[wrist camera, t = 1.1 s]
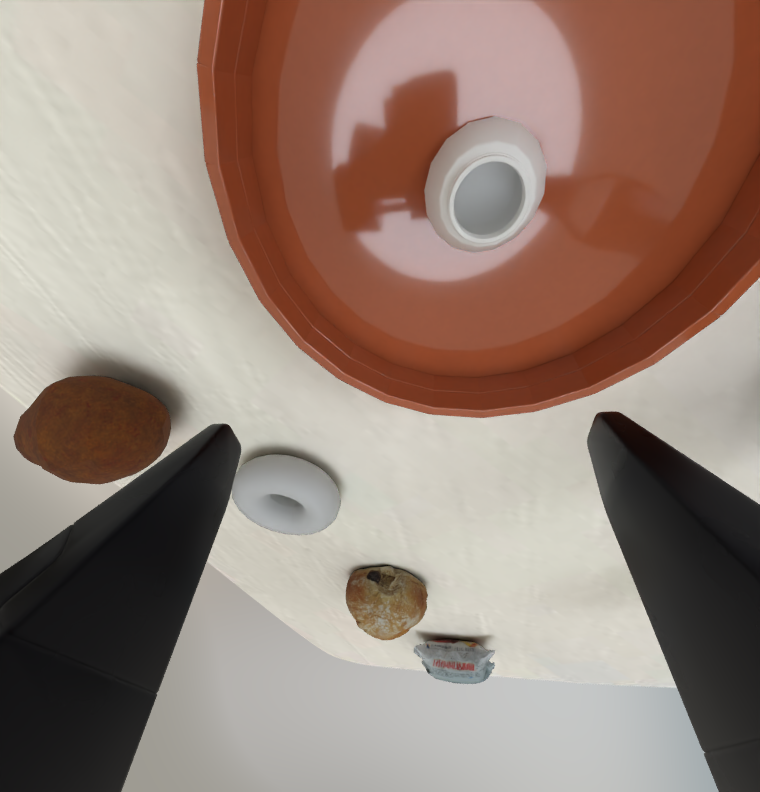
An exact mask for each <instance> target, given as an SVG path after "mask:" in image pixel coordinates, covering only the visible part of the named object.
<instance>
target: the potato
mask: <svg viewBox="0 0 760 792" xmlns="http://www.w3.org/2000/svg"><path fill="white" fill-rule="evenodd" d="M170 430H171V422H170V415H169V412H168V410H167V408H166V407H165V405H164V404H162V403H161V402H160V401H159V400H158V399H157V398H156V397H154V396H153V395H151V394H149V393H148V392H146V391H144V390H141V389H139V388H136V387H134V386H132V385H129V384H126V383H123V382H121V381H118V380H115V379H112V378H110V377H102V376H76V377H68V378H65V379H63V380H60V381H57V382H55V383H53V384H51V385H50V386H48V387H46V388H45V389H44V390H43V391H42V393H41V394H40V395H39V396H38V397H37V399H36V400H35V401H34V402H33V404H32V405H31V406H30V407H29V408H28V409H27V410H26V411H25V412H24V414H23V415H21V417H20V419H19V422H18V425H17V428H16V431H15V434H14V441H15V445H16V448H17V450H18V451H19V452H20V453H21V454H22V455H23V457H24V458H26V459H27V460H29V461H30V462H32V463H34V464H37V465H39V466H41V467H42V468H43V469H44V470H46V471H48V472H50V473H52V474H54V475H55V476H57V477H59V478H61V479H63V480H67V481H70V482H76V483H90V484H104V483H108V482H112V481H115V480H118V479H121V478H124V477H127V476H130V475H133V474H135V473H137V472H139V471H141V470H143V469H145V468H146V467H148V466H149V465H150V464H151V463H153V462H154V461H155V460H156V459H157V458H158V457H159V456H160V455H161V454H162V452H163V450H164V449H165V447H166V445H167V442H168V439H169V436H170Z"/></svg>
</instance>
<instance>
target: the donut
mask: <svg viewBox="0 0 760 792" xmlns="http://www.w3.org/2000/svg"><path fill="white" fill-rule="evenodd" d="M285 496H286V497H285ZM232 498H233V500H234V502H235V504H236V505H237V507H238V509H239V510H240V511H241V512H242V513H243V514H244V515H245V516H246V517H247V518H248V519H250V520H251V521H253V522H255V523H256V524H258V525H260V526H262V527H264V528H266V529H269V530H271V531H275V532H279V533H283V534H291V535H308V534H313V533H316V532H319V531H321V530H324V529H325V528H327V527H328V526H329V525H330V524H331V523H332V522H333V521H334V520H335V519H336V517H337V514H338V511H339V508H340V504H341V500H340V496H339V491H338V488H337V486H336V484H335V483H334V482H333V480H332V479H331V478H330V476H329V475H328V474H327V473H325V472H324V471H323V470H322V469H320V468H319V467H318V466H316V465H314V464H312V463H310V462H308V461H306V460H304V459H301V458H297V457H293V456H289V455H277V454H271V455H265V456H260V457H256V458H254V459H252V460H250V461H249V462H247V463H245V464H244V465H242V466H241V467H240V468H239V470H238V471H237V473H236V475H235V478H234V482H233V486H232Z"/></svg>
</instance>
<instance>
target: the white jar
mask: <svg viewBox="0 0 760 792" xmlns="http://www.w3.org/2000/svg"><path fill="white" fill-rule="evenodd" d="M546 168H547V166H546V163H545V160H544V156H543V153H542V150H541V147H540V144H539V141H538V140H537V139H536V138H535V137H534V136H533V135H532V134H531V133H530V132H529V131H528V130H527V129H526V128H525V127H524V126H523V125H522V124H521V123H518V122H515V121H511V120H507V119H503V118H500V117H496V116H494V117H490V118H486V119H481V120H477V121H473V122H469V123H467V124H466V125H465V126H463V127H462V128H461V129H459V130H458V131H457V132H455V133H454V134H453V135H451V136H450V137H449V138H447V139H446V141H445V142H444V144H443V145H442V147H441V148H440V150H439V151H438V153H437V154H436V156H435V158H434V159H433V161H432V162H431V165H430V169H429V173H428V177H427V181H426V185H425V189H424V193H425V203H426V213H427V216H428V218H429V220H430V222H431V224H432V226H433V228H434V230H435V232H436V234H437V235H438V236H439V237H441V238H442V239H443V240H444V241H446V242H447V243H448V244H449V245H451V246H452V247H453V248H457V249H461V250H465V251H469V252H480V251H487V250H493V249H496V248H498V247H500V246H501V245H503V244H505V243H507V242H509V241H510V240H512V239H514V238H516V237H517V235H518V234H519V233H520V232H521V231H522V230H523V229H524V228H525V227H526V226H527V225H528V223H529V222H530V221H531V220H532V219H533V217H534V215H535V213H536V211H537V209H538V206H539V204H540V202H541V200H542V198H543V195H544V191H545V179H546Z"/></svg>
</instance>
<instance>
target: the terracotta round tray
mask: <svg viewBox="0 0 760 792" xmlns="http://www.w3.org/2000/svg"><path fill="white" fill-rule="evenodd" d="M197 62H198V63H197V73H198V85H199V97H200V109H201V121H202V133H203V145H204V157H205V162H206V167H207V171H208V174H209V177H210V181H211V184H212V188H213V191H214V195H215V198H216V201H217V205H218V208H219V212H220V215H221V219H222V222H223V225H224V229H225V232H226V236H227V239H228V241H229V244H230V246H231V248H232V250H233V251H234V253H235V255H236V257H237V259H238V261H239V263H240V265H241V267H242V268H243V270H244V272H245V274H246V276H247V278H248V280H249V282H250V284H251V285H252V287H253V289H254V291H255V293H256V295H257V297H258V299H259V300H260V301H261V303H262V304H263V306H264V307H265V308H266V309H267V310H268V312H269V313H270V314H271V315H272V316H273V318H274V319H275V320H276V321H277V322H278V324H279V325H280V326H281V327H282V328H283V330H284V331H285V332H286V333H287V335H288V336H289V337H290V338H291V339H292V341H293V342H294V343H295V344H296V345H297V346H298V347H299V348H300V349H301V350H302V351H304V352H305V353H306V354H307V355H309V356H310V357H311V358H312V359H314V360H315V361H316V362H317V363H319V364H320V365H321V366H323V367H324V368H325V369H326V370H328V371H329V372H330V373H331V374H333V375H334V376H335V377H336V378H338V379H340V380H341V381H343V382H345V383H347V384H349V385H351V386H353V387H355V388H357V389H359V390H361V391H363V392H365V393H367V394H369V395H371V396H373V397H375V398H377V399H379V400H381V401H384V402H386V403H390V404H393V405H397V406H401V407H405V408H408V409H412V410H416V411H420V412H423V413H427V414H432V415H446V416H461V417H476V418H486V417H494V416H503V415H511V414H520V413H528V412H535V411H539V410H543V409H546V408H549V407H553V406H556V405H559V404H563V403H566V402H569V401H573V400H576V399H579V398H583V397H586V396H589V395H592V394H595V393H597V392H599V391H601V390H604V389H606V388H608V387H610V386H612V385H614V384H616V383H618V382H620V381H622V380H624V379H626V378H628V377H630V376H632V375H634V374H636V373H638V372H640V371H642V370H644V369H646V368H648V367H650V366H652V365H654V364H655V363H657V362H658V361H660V360H661V359H662V358H664V357H665V356H667V355H668V354H669V353H671V352H672V351H674V350H675V349H676V348H678V347H679V346H681V345H682V344H683V343H685V342H686V341H687V340H689V339H690V338H692V337H693V336H694V335H696V334H697V333H699V332H700V331H701V330H703V329H704V328H705V327H707V326H708V325H710V324H711V323H712V322H714V321H715V320H717V319H718V318H719V317H720V315H723V314H724V313H725V312H726V311H727V310H728V309H729V308H730V307H731V306H732V305H733V304H734V303H735V302H736V301H737V300H738V299H739V298H740V297H741V296H742V295H743V294H744V293H745V292H746V291H747V290H748V289H749V288H750V287H751V286H752V285H753V284H754V283H755V282H756V281H757V280H758V279H759V278H760V0H205V1H204V9H203V17H202V25H201V33H200V42H199V50H198V58H197ZM494 116H496V117H500V118H503V119H507V120H511V121H515V122H518V123H521V124H522V125H523V126H524V127H525V128H526V129H527V130H528V131H529V132H530V133H531V134H532V135H533V136H534V137H535V138H536V139H537V140H538V141H539V144H540V147H541V150H542V153H543V156H544V160H545V163H546V166H547V168H546V179H545V191H544V195H543V198H542V200H541V202H540V204H539V206H538V209H537V211H536V213H535V215H534V217H533V219H532V220H531V221H530V222H529V223H528V225H527V226H526V227H525V228H524V229H523V230H522V231H521V232H520V233H519V234H518V235H517V237H516V238H514V239H512V240H510V241H509V242H507V243H505V244H503V245H501V246H500V247H498V248H496V249H493V250H487V251H480V252H469V251H465V250H461V249H457V248H453V247H452V246H451V245H449V244H448V243H447V242H446V241H444V240H443V239H442V238H441V237H439V236H438V235H437V234H436V232H435V230H434V228H433V226H432V224H431V222H430V220H429V218H428V216H427V213H426V203H425V193H424V189H425V185H426V181H427V177H428V173H429V169H430V165H431V162H432V161H433V159H434V158H435V156H436V154H437V153H438V151H439V150H440V148H441V147H442V145H443V144H444V142H445V141H446V139H447V138H449V137H450V136H451V135H453V134H454V133H455V132H457V131H458V130H459V129H461V128H462V127H463V126H465V125H466V124H467V123H469V122H473V121H477V120H481V119H486V118H490V117H494Z"/></svg>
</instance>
